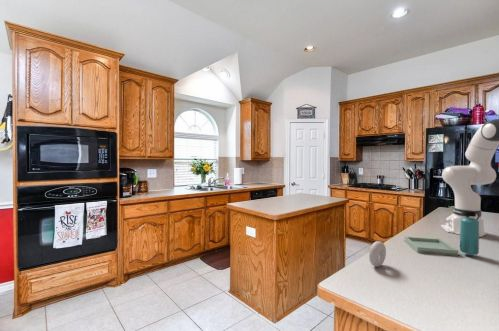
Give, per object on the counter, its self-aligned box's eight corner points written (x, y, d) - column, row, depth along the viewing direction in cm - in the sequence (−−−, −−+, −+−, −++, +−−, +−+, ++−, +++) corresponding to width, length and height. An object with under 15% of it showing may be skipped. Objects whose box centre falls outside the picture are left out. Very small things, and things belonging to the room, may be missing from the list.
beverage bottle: (482, 258, 106) (484, 212, 106) (464, 257, 108) (466, 211, 107) (472, 253, 113) (473, 209, 112) (455, 252, 114) (456, 208, 114)
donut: (376, 271, 94) (376, 245, 94) (367, 268, 97) (367, 243, 97) (387, 264, 101) (387, 239, 101) (378, 261, 103) (378, 237, 103)
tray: (404, 241, 129) (404, 236, 129) (439, 243, 125) (439, 238, 125) (417, 252, 113) (417, 247, 113) (458, 256, 110) (458, 250, 109)
